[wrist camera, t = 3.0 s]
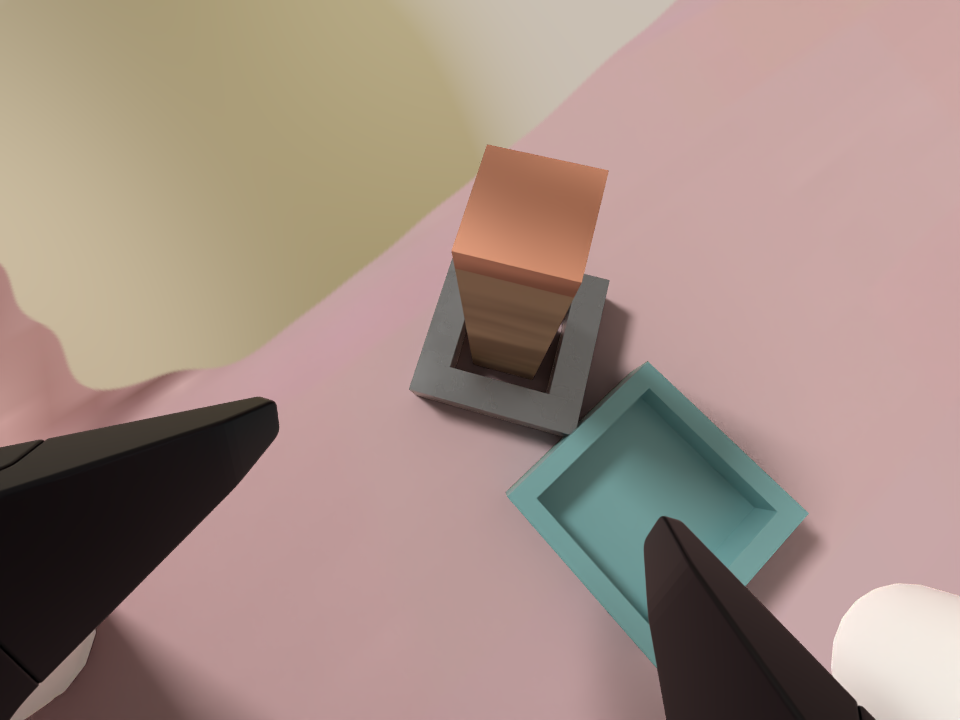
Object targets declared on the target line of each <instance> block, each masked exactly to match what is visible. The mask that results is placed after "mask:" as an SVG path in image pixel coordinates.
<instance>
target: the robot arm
mask: <svg viewBox="0 0 960 720" xmlns="http://www.w3.org/2000/svg"><path fill="white" fill-rule="evenodd" d="M278 432H279V420H278V412H277V405H276V403H275V402H274V401H273V400H269V399H266V398H263V397H253V398H248V399H243V400H238V401H233V402H228V403H223V404H218V405H213V406H208V407H203V408H198V409H193V410H188V411H183V412H178V413H174V414H169V415H164V416H159V417H154V418H149V419H144V420H139V421H134V422H129V423H124V424H119V425H114V426H109V427H104V428H99V429H94V430H89V431H84V432H79V433H74V434H69V435H64V436H59V437H54V438H49V439H47V440H45V441H44V440H35V441H30V442H25V443H20V444H15V445H10V446H5V447H0V720H10V719H11V718H12V716H13V715H14V714H15V712H16V711H17V710H18V709H19V707H20V706H21V705H22V704H23V702H24V701H25V700H26V699H27V698H28V697H29V696H30V695H31V693H32V692H33V691H34V690H35V689H36V688H37V687H38V686H39V683H42V682H43V681H44V680H45V679H46V678H47V677H48V676H49V675H50V674H51V673H52V672H53V671H54V670H55V669H56V668H57V667H58V666H59V665H60V664H61V663H62V662H63V661H64V660H65V659H66V658H67V657H68V656H69V655H70V654H71V653H72V652H73V651H74V650H75V649H76V648H77V647H78V646H79V645H80V644H81V643H82V642H83V641H84V640H85V639H86V638H87V637H88V636H89V635H90V634H91V633H92V632H93V631H94V630H95V629H96V628H97V627H98V626H99V625H100V624H101V623H102V622H103V621H104V620H105V619H106V618H107V617H108V615H109V614H110V613H111V612H112V611H113V610H114V609H115V608H116V607H117V606H118V605H119V604H120V603H121V602H122V601H123V600H124V599H125V598H126V597H127V596H128V595H129V594H130V593H131V592H132V591H133V590H134V589H135V588H136V587H137V586H138V585H139V584H140V583H141V582H142V581H143V580H144V579H145V578H146V577H147V576H148V575H149V574H150V573H151V572H152V571H153V570H154V569H155V568H156V567H157V566H158V565H159V564H160V563H161V562H162V561H163V560H164V559H165V558H166V557H167V556H168V555H169V554H170V553H171V552H172V551H173V550H174V549H175V548H176V547H177V546H178V545H179V544H180V543H181V542H182V541H183V540H184V539H185V538H186V537H187V536H188V535H189V534H190V533H191V532H192V531H193V530H194V529H195V528H196V527H197V526H198V525H199V524H200V523H201V522H202V521H203V520H204V519H205V518H206V517H207V516H208V514H209V513H210V512H211V511H212V510H213V509H214V508H215V507H216V506H217V505H218V504H219V503H220V502H221V501H222V500H223V499H224V498H225V497H226V496H227V495H228V494H229V493H230V492H231V491H232V490H233V489H234V488H235V487H236V486H237V485H238V484H239V482H240V481H241V480H242V479H243V478H244V477H245V475H246V474H247V473H248V472H249V470H250V469H251V468H252V467H253V465H254V464H255V463H256V462H257V461H258V459H259V458H260V457H261V456H262V454H263V453H264V452H265V451H266V449H267V448H268V447H269V446H270V444H271V443H272V442H273V441H274V439H275V438H276V436H277V434H278ZM644 566H645V581H646V597H647V610H648V619H649V625H650V631H651V637H652V643H653V648H654V654H655V659H656V665H657V670H658V676H659V682H660V687H661V693H662V698H663V704H664V710H665V715H666V720H876V719H875V718H874V717H873V716H872V715H871V714H870V713H869V712H868V711H867V710H866V709H865V708H864V707H863V706H860V705H858V704H857V701H856V700H855V699H854V698H853V697H852V696H851V695H850V694H849V692H848V691H847V690H846V689H845V688H844V687H843V686H842V685H841V684H840V683H839V682H838V681H837V680H836V679H835V678H834V677H833V676H832V675H831V674H830V673H829V672H828V671H827V670H826V669H825V668H824V667H823V666H822V665H821V664H820V663H819V662H818V661H817V660H816V659H815V658H814V657H813V656H812V654H811V653H810V652H809V651H808V650H807V649H806V648H805V647H804V646H803V645H802V644H801V643H800V642H799V641H798V640H797V639H796V638H795V637H794V636H793V635H792V634H791V633H790V632H789V631H788V630H787V629H786V628H785V627H784V626H783V625H782V624H781V623H780V622H779V621H778V620H777V619H776V617H775V616H774V615H773V614H772V613H771V612H770V611H769V610H768V609H767V608H766V607H765V606H764V605H763V604H762V603H761V602H760V601H759V600H758V599H757V598H756V597H755V596H754V595H753V594H752V593H751V592H750V591H749V590H748V589H747V588H746V587H745V586H744V585H743V584H742V583H741V582H740V580H739V579H738V578H737V577H736V576H735V575H734V574H733V573H732V572H731V571H730V570H729V569H728V568H727V567H726V566H725V565H724V564H723V563H722V562H721V561H720V560H719V559H718V558H717V557H716V556H715V555H714V554H713V553H712V552H711V551H710V550H709V549H708V548H707V547H706V546H705V545H704V544H703V542H702V541H701V540H700V539H699V538H698V537H697V536H696V535H695V534H694V533H693V532H692V531H691V530H690V529H689V528H688V527H687V526H686V525H685V524H684V523H683V522H682V521H680V520H677V519H674V518H671V517H667V516H661V517H660V518H659V519H658V520H657V522H656V523H655V525H654V526H653V528H652V529H651V531H650V532H649V534H648V535H647V537H646V539H645V542H644Z"/></svg>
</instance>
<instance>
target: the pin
mask: <svg viewBox="0 0 960 720" xmlns="http://www.w3.org/2000/svg"><path fill="white" fill-rule="evenodd" d="M607 176H608V170H604V169H599V168H594V167H590V166H585V165H580V164H576V163H571V162H566V161H562V160H557V159H552V158H548V157H543V156H538V155H534V154H529V153H525V152H520V151H515V150H511V149H506V148H501V147H496V146H492V145H487V147H486V149H485V153H484V155H483V158H482V161H481V165H480V167H479V171H478V173H477V176H476V179H475V182H474V185H473V188H472V191H471V194H470V197H469V200H468V203H467V206H466V209H465V212H464V215H463V218H462V221H461V224H460V227H459V230H458V233H457V236H456V239H455V242H454V245H453V248H452V256H453V261H454V266H455V272H456V277H457V282H458V287H459V292H460V298H461V303H462V308H463V313H464V319H465V324H466V329H467V334H468V339H469V345H470V350H471V355H472V360H473V364H475V365H478V366H482V367H486V368H490V369H493V370H497V371H501V372H504V373H508V374H512V375H515V376H519V377H523V378H527V379H530V380H533V378H534V376H535V374H536V372H537V370H538V368H539V366H540V364H541V362H542V360H543V358H544V356H545V354H546V352H547V350H548V348H549V346H550V344H551V342H552V340H553V338H554V336H555V334H556V332H557V330H558V328H559V326H560V324H561V322H562V320H563V319H564V317H565V315H566V313H567V311H568V309H569V307H570V305H571V303H572V301H573V299H574V297H575V295H576V293H577V291H578V289H579V287H580V285H581V283H582V279H583V275H584V271H585V267H586V263H587V258H588V254H589V250H590V246H591V242H592V238H593V234H594V229H595V225H596V221H597V217H598V213H599V209H600V205H601V200H602V196H603V192H604V188H605V184H606V180H607Z"/></svg>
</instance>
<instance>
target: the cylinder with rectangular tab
mask: <svg viewBox="0 0 960 720" xmlns="http://www.w3.org/2000/svg"><path fill="white" fill-rule="evenodd" d="M831 670H832V676H833V677H834V678H835V679H836V680H837V681H838V682H839V683H840V684H841V685H842V686H843V687H844V688H845V689H846V690H847V691H848V692H849V694H850V695H851V696H852V697H853V698H854V699H855V700H856V701H857V704H858V705H860V706H863V707H864V708H865V709H866V710H867V711H868V712H869V713H870V714H871V715H872V716H873V717H874V718H875V719H876V720H960V596H958V595H955V594H951V593H948V592H944V591H941V590H938V589H934V588H931V587H927V586H924V585H918V584H899V583H896V584H892V585H888V586H884V587H880V588H876V589H873V590H872V591H870V592H869V593H867V594H866V595H864V596H862V597H861V598H859V599H858V600H856V601H855V603H854V604H853V605H852V606H851V608H850V609H849V610H848V611H847V613H846V614H845V615H844V616H843V618H842V620H841V622H840V625H839V628H838V630H837V633H836V635H835V638H834V641H833V652H832V663H831Z"/></svg>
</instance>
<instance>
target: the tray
mask: <svg viewBox="0 0 960 720" xmlns="http://www.w3.org/2000/svg"><path fill="white" fill-rule="evenodd" d="M506 495H507V497H508V498H509V499H510V500H511V502H512V503H513V504H514V505H515V506H516V507H517V508H518V510H519V511H520V512H521V513H522V514H523V515H524V516H525V518H526V519H527V520H528V521H529V522H530V523H531V524H532V526H533V527H534V528H535V529H536V530H537V531H538V532H539V534H540V535H541V536H542V537H543V538H544V539H545V541H546V542H547V543H548V544H549V545H550V546H551V547H552V549H553V550H554V551H555V552H556V553H557V554H558V555H559V557H560V558H561V559H562V560H563V561H564V562H565V563H566V565H567V566H568V567H569V568H570V569H571V570H572V571H573V573H574V574H575V575H576V576H577V577H578V578H579V580H580V581H581V582H582V583H583V584H584V585H585V586H586V588H587V589H588V590H589V591H590V592H591V593H592V594H593V596H594V597H595V598H596V599H597V600H598V601H599V602H600V604H601V605H602V606H603V607H604V608H605V609H606V610H607V612H608V613H609V614H610V615H611V616H612V617H613V618H614V620H615V621H616V622H617V623H618V624H619V625H620V627H621V628H622V629H623V630H624V631H625V632H626V633H627V635H628V636H629V637H630V638H631V639H632V640H633V641H634V643H635V644H636V645H637V646H638V647H639V648H640V649H641V651H642V652H643V653H644V654H645V655H646V656H647V657H648V659H649V660H650V661H651V662H652V663H653V664H654V666H655V667H656V668H657V665H656V659H655V654H654V648H653V643H652V637H651V631H650V625H649V619H648V610H647V597H646V581H645V566H644V542H645V539H646V537H647V535H648V534H649V532H650V531H651V529H652V528H653V526H654V525H655V523H656V522H657V520H658V519H659V518H660V517H661V516H667V517H671V518H674V519H677V520H680V521H682V522H683V523H684V524H685V525H686V526H687V527H688V528H689V529H690V530H691V531H692V532H693V533H694V534H695V535H696V536H697V537H698V538H699V539H700V540H701V541H702V542H703V544H704V545H705V546H706V547H707V548H708V549H709V550H710V551H711V552H712V553H713V554H714V555H715V556H716V557H717V558H718V559H719V560H720V561H721V562H722V563H723V564H724V565H725V566H726V567H727V568H728V569H729V570H730V571H731V572H732V573H733V574H734V575H735V576H736V577H737V578H738V579H739V580H740V582H741V583H742V584H743V585H744V586H746V585H747V584H748V583H749V581H750V580H751V579H752V578H753V577H754V576H755V575H756V573H757V572H758V571H759V570H760V569H761V568H762V567H763V565H764V564H765V563H766V562H767V561H768V560H769V558H770V557H771V556H772V555H773V554H774V553H775V552H776V550H777V549H778V548H779V547H780V546H781V545H782V544H783V542H784V541H785V540H786V539H787V538H788V537H789V536H790V534H791V533H792V532H793V531H794V530H795V529H796V527H797V526H798V525H799V524H800V523H801V522H802V521H803V519H804V518H805V517H806V516H807V515H808V514H809V513H808V512H807V511H806V510H804V509H803V508H802V507H801V506H800V505H799V504H798V503H797V502H796V501H795V500H794V499H793V498H792V497H791V496H790V495H789V494H788V493H786V492H785V491H784V490H783V489H782V488H781V487H780V486H779V485H778V484H777V483H776V482H775V481H774V480H773V479H772V478H771V477H770V476H768V475H767V474H766V473H765V472H764V471H763V470H762V469H761V468H760V467H759V466H758V465H757V464H756V463H755V462H754V461H753V460H752V459H750V458H749V457H748V456H747V455H746V454H745V453H744V452H743V451H742V450H741V449H740V448H739V447H738V446H737V445H736V444H735V443H734V442H732V441H731V440H730V439H729V438H728V437H727V436H726V435H725V434H724V433H723V432H722V431H721V430H720V429H719V428H718V427H717V426H716V425H714V424H713V423H712V422H711V421H710V420H709V419H708V418H707V417H706V416H705V415H704V414H703V413H702V412H701V411H700V410H699V409H698V408H696V407H695V406H694V405H693V404H692V403H691V402H690V401H689V400H688V399H687V398H686V397H685V396H684V395H683V394H682V393H681V392H680V391H679V390H677V389H676V388H675V387H674V386H673V385H672V384H671V383H670V382H669V381H668V380H667V379H666V378H665V377H664V376H663V375H662V374H661V373H659V372H658V371H657V370H656V369H655V368H654V367H653V366H652V365H651V364H650V363H649V362H648V361H647V362H646V363H644V364H643V365H641V366H639V367H638V368H636V369H635V370H633V371H632V372H630V373H629V374H628V375H627V376H626V377H625V378H624V379H623V380H622V381H621V382H620V383H619V384H618V385H617V386H616V387H615V388H614V389H613V390H612V391H611V392H610V393H609V394H607V395H606V396H605V397H604V398H603V399H602V400H601V401H600V402H599V403H598V404H597V405H596V406H595V407H594V408H593V409H592V410H591V411H590V412H589V413H588V414H587V415H586V416H585V417H584V418H583V419H581V420H580V421H579V422H578V424H577V428H576V430H575V431H574V432H572V433H571V434H570V435H568V436H565V437H563V438H562V439H561V440H560V441H559V442H558V443H557V444H555V445H554V446H553V447H552V448H551V449H550V450H549V451H548V452H547V453H546V454H545V455H544V456H543V457H542V458H541V459H540V460H539V461H538V462H537V463H536V464H535V465H534V466H533V467H532V468H530V469H529V470H528V471H527V472H526V473H525V474H524V475H523V476H522V477H521V478H520V479H519V480H518V481H517V482H516V483H515V484H514V485H513V486H512V487H511V488H510V489H509V490H508V491H507V492H506Z"/></svg>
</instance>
